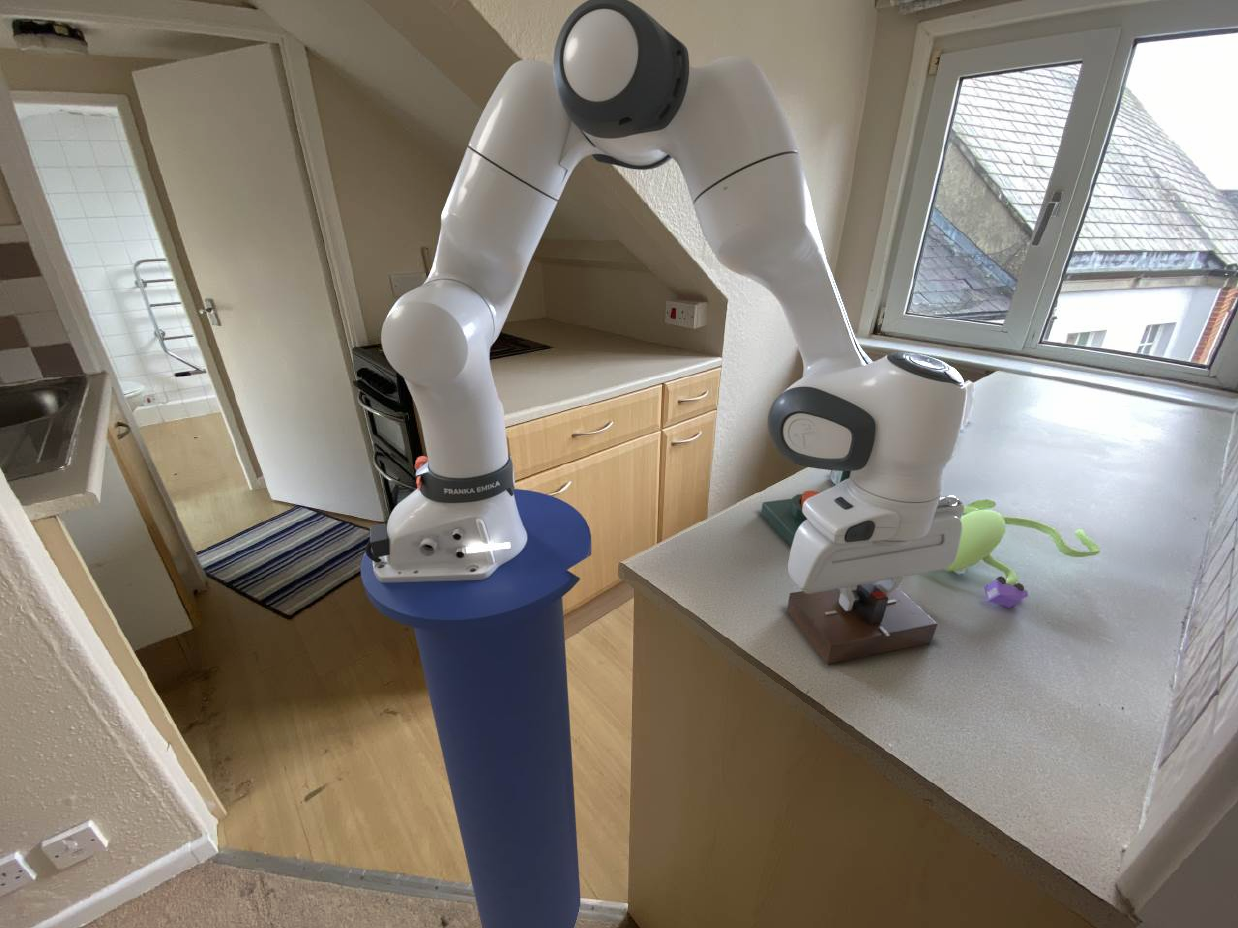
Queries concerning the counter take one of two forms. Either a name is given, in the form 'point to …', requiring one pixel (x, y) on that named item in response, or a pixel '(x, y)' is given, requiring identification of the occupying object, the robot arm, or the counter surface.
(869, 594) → the dark block
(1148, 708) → the counter surface
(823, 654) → the knob panel
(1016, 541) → the counter surface
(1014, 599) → the figurine
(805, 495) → the button
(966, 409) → the white folded napkin
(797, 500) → the button box
